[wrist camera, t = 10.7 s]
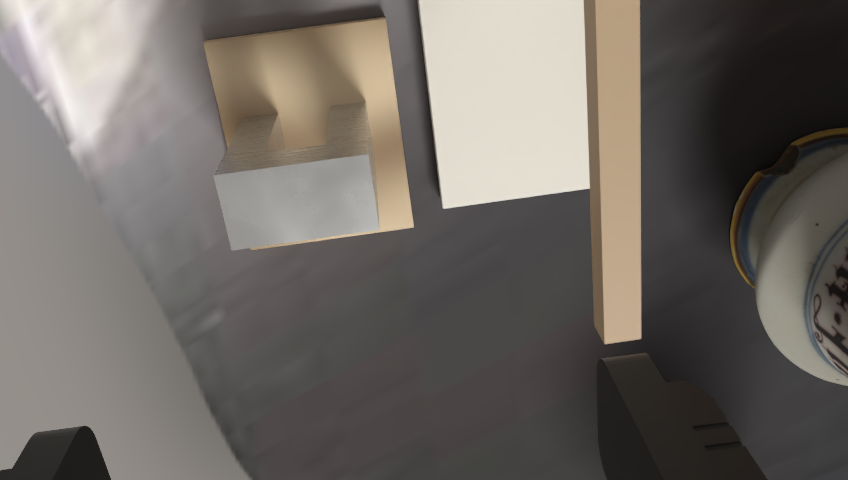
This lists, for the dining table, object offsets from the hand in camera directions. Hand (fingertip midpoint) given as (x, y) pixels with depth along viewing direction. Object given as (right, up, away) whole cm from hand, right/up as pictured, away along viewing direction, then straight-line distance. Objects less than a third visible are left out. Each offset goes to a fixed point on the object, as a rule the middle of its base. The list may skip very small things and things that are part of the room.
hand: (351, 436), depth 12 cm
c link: (-4, +8, +24) cm, 25 cm away
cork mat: (-4, +8, +24) cm, 26 cm away
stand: (+5, +13, +23) cm, 27 cm away
